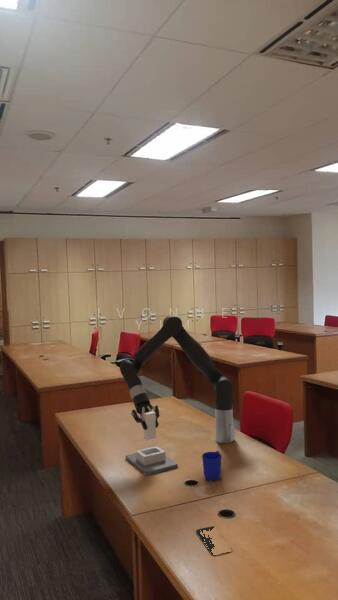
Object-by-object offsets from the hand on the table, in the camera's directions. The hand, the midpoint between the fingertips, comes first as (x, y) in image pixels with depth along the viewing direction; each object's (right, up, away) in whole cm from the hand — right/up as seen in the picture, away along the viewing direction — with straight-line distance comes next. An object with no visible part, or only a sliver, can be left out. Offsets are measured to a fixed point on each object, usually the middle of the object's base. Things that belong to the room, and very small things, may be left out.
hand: (151, 428), depth 212 cm
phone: (+23, -20, -61) cm, 68 cm away
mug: (+27, -17, -13) cm, 35 cm away
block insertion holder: (0, -17, +3) cm, 17 cm away
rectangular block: (-1, -5, +2) cm, 6 cm away
